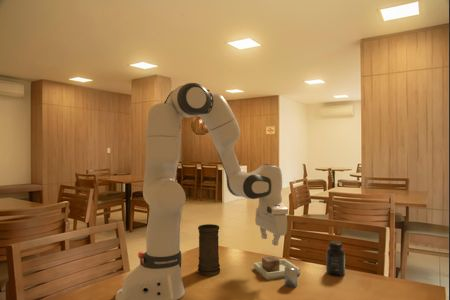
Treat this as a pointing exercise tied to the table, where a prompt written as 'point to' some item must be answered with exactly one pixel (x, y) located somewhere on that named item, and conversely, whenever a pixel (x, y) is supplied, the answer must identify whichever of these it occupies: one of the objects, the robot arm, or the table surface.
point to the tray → (275, 274)
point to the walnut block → (270, 264)
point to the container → (208, 250)
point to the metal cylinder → (290, 276)
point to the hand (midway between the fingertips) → (269, 241)
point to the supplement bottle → (335, 259)
